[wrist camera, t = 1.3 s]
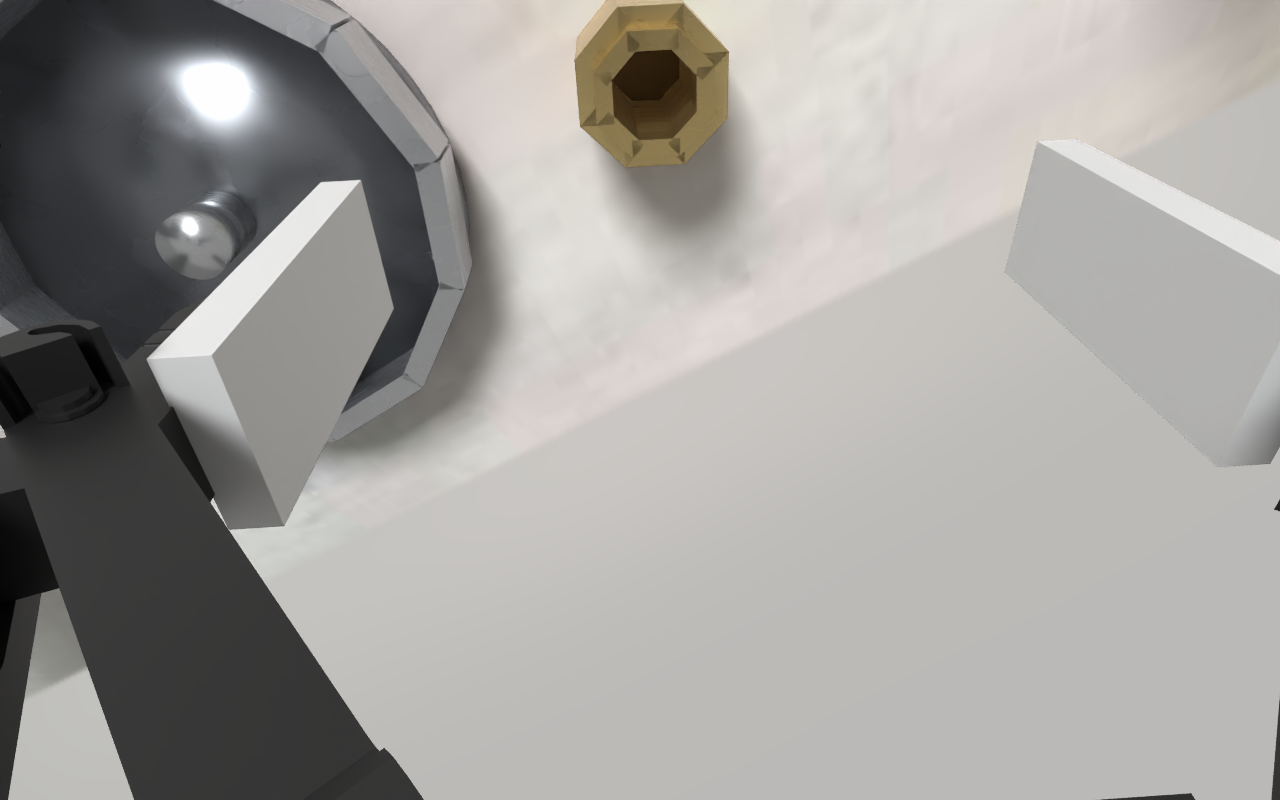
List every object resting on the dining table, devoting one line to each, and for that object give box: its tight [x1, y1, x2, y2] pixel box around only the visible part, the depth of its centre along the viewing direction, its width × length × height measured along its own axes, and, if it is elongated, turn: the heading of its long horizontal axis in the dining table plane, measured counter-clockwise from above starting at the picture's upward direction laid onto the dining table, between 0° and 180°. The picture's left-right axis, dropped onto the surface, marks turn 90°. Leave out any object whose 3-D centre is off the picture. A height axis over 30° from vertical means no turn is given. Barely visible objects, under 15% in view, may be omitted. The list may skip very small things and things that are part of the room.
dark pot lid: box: [0, 0, 472, 442], centre depth 30 cm, size 20×20×4 cm
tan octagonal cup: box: [575, 0, 729, 167], centre depth 27 cm, size 5×5×6 cm
